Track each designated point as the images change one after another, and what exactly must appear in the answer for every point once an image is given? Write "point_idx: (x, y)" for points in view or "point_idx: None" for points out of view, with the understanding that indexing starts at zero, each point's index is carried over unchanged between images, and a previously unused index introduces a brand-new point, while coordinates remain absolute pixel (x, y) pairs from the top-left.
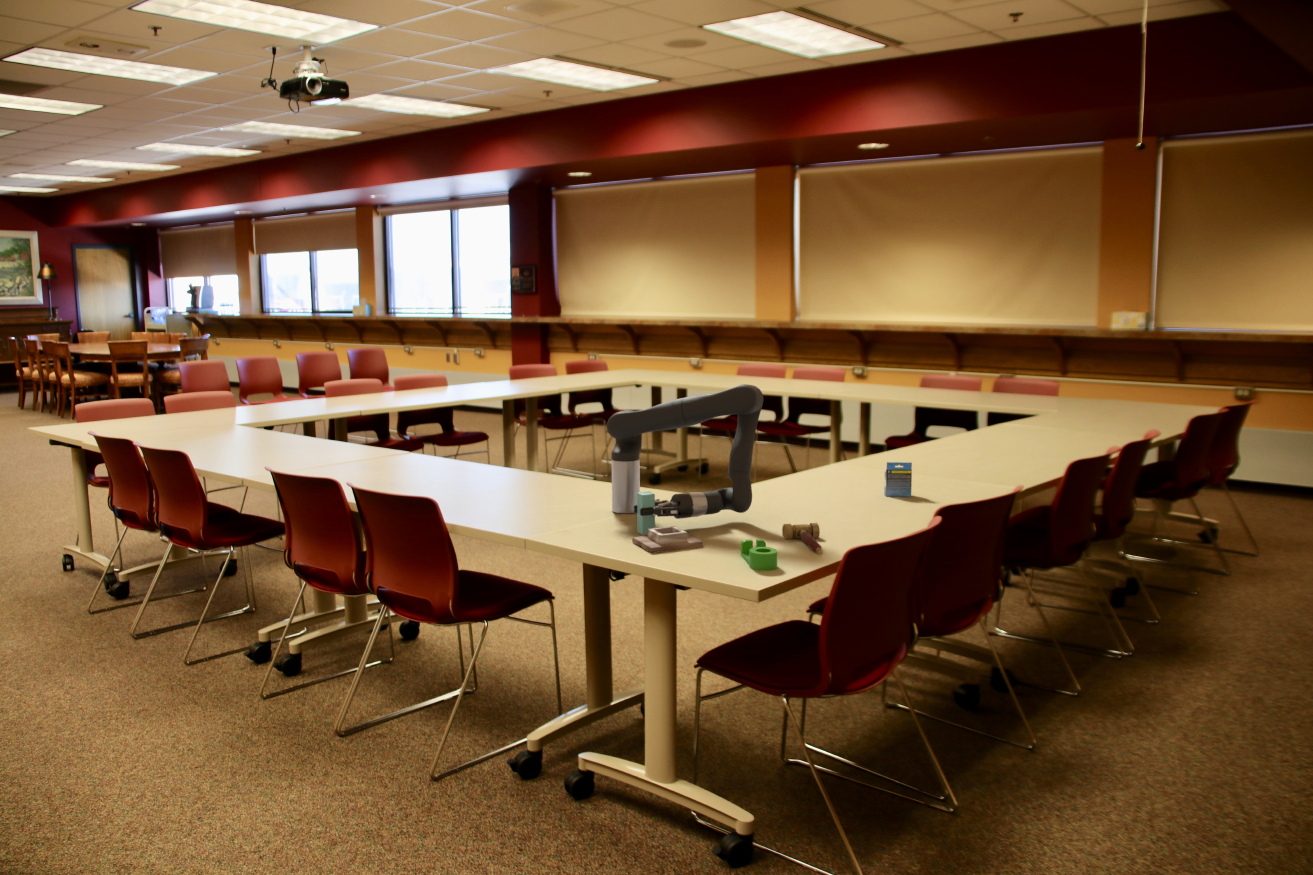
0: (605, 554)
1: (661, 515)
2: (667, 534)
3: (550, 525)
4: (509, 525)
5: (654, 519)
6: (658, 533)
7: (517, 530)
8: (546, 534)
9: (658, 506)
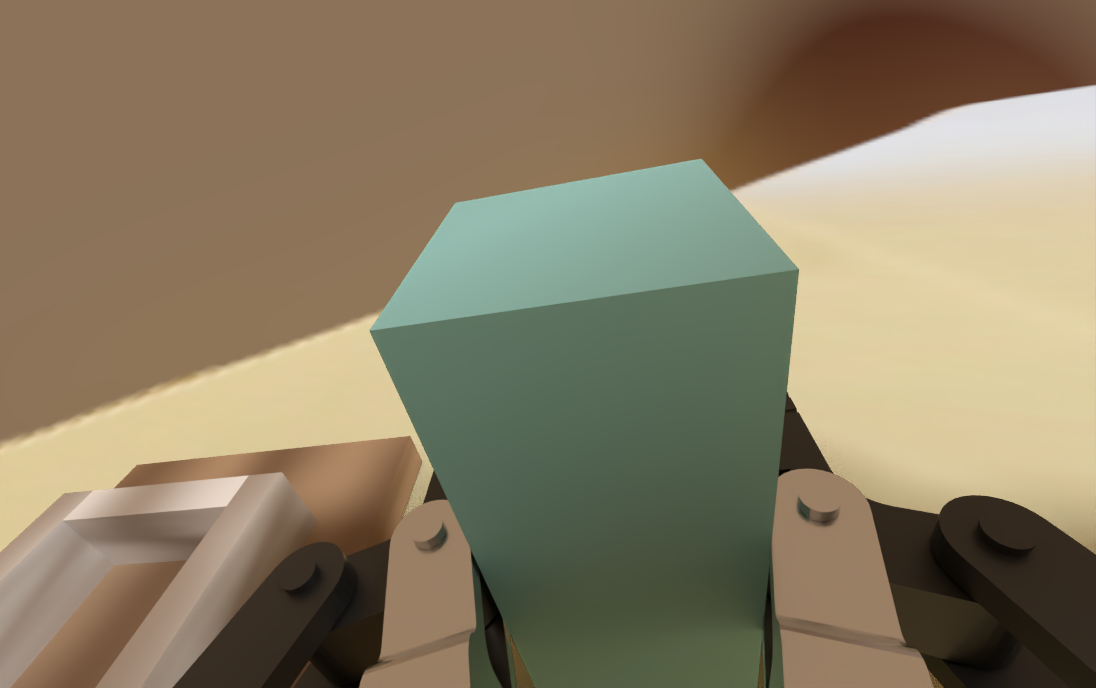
0: (346, 337)
1: (307, 678)
2: (3, 555)
3: (971, 222)
4: (952, 158)
5: (534, 673)
6: (109, 501)
7: (852, 177)
8: (763, 224)
9: (416, 625)
